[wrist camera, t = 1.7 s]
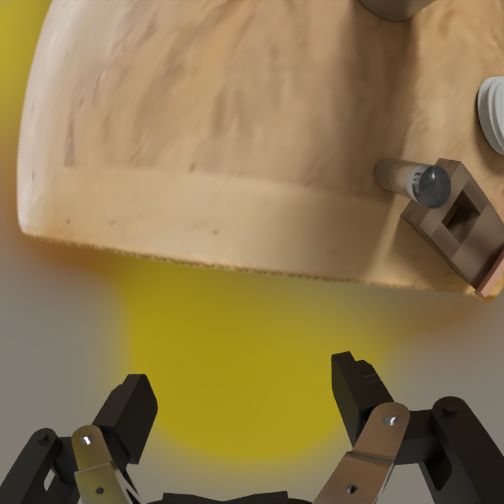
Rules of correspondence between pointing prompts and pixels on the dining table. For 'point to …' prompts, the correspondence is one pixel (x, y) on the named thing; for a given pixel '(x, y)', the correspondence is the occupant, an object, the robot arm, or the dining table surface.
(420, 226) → the socket block
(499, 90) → the lid
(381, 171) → the pin
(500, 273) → the pink flat board
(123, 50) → the dining table surface
